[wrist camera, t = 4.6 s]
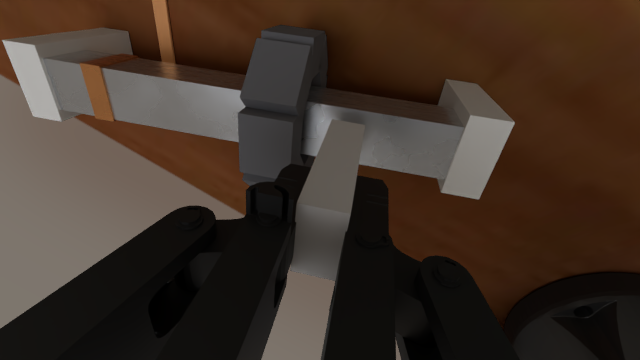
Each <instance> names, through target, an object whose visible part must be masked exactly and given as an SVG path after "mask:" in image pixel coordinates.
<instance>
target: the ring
mask: <svg viewBox="0 0 640 360" xmlns="http://www.w3.org/2000/svg"><path fill="white" fill-rule="evenodd" d="M327 69H328V56H327V37H326V35H325V31H320V30H313V29H306V28H299V27H292V26H285V25H278V26H275V27H272V28H268V29H265V30H262V39H260V38H257V39H256V43H255V46H254V50H253V53H252V56H251V60H250V63H249V67H248V70H247V74H246V77H245V80H244V84H243V87H242V91H241V94H240V99H241V100H242V102H243V104H244V105H245V108H243V109H242V110H241V111H240V112H238V135H239V162H240V172H243V173H244V176H243V179H242V180H243V181H244V182H246V183H247V184H248V185H249V186H251V185H254V184H256V183H259V182H266V181H270V182H274V181H275V180H276V178H277V176H278V175H279V173H280V171H281V170H282V169H283V168H284V167H286V166H288V165H289V164H296V165H301V166H306V167H311V166H313V161H314V157H315V156H312V155H306V154H301V153H300V150H301V138H302V125H303V116H304V111H305V107H306V103H307V99H308V95H309V90H310V86H317V87H323V88H326V85H327V76H328V75H326V73H327Z"/></svg>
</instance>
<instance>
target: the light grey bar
mask: <svg viewBox="0 0 640 360" xmlns="http://www.w3.org/2000/svg"><path fill="white" fill-rule="evenodd" d="M43 60H44V63H45V66H46V69H47V72H48V75H49V77H50V80H51V83H52V86H53V89H54V92H55V94H56V97H57V100H58V103H59V106H60V108H61V110H65V111H71V112H76V113H82V114H87V115H93V116H95V118H97V119H102V120H107V121H113V122H114V121H116V120H120V121H126V122H131V123H137V124H142V125H147V126H153V127H158V128H164V129H169V130H175V131H180V132H186V133H191V134H197V135H202V136H208V137H213V138H219V139H224V140H230V141H235V142H239V135H238V112H240V111H241V110H242V109H243V108H245V105H244V104H243V102H242V100H241V99H240V94H241V91H242V87H243V84H244V80H245V77H246V75H242V74H236V73H229V72H223V71H217V70H210V69H204V68H198V67H192V66H185V65H179V64H173V63H166V62H160V61H154V60H148V59H141V58H139V56H135V55H129V54H123V53H121V54H110V53H104V52H97V51H91V50H83V51H78V52H72V53H67V54H62V55H56V56H51V57H46V58H43ZM332 119H335V120H340V121H346V122H351V123H357V124H363V125H365V129H364V135H363V141H362V147H361V153H360V160H359V164H361V165H367V166H372V167H378V168H383V169H389V170H394V171H400V172H405V173H410V174H416V175H421V176H427V177H432V178H438V179H443V180H445V177H446V174H447V172H448V169H449V167H450V164H451V161H452V159H453V156H454V153H455V151H456V148H457V145H458V143H459V140H460V138H461V135H462V132H463V130H464V126H463V124H462V123H461V121H460V119H459V117H458V116H457V114H456V112H455V110H454V109H453V108H449V107H443V106H437V105H430V104H424V103H418V102H411V101H405V100H399V99H393V98H386V97H380V96H374V95H367V94H361V93H355V92H349V91H342V90H336V89H330V88H323V87H317V86H310V90H309V95H308V99H307V103H306V107H305V111H304V116H303V125H302V138H301V150H300V153H301V154H306V155H312V156H317V154H318V151H319V149H320V147H321V144H322V142H323V140H324V137H325V135H326V133H327V130H328V128H329V125H330V123H331V121H332Z"/></svg>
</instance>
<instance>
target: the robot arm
mask: <svg viewBox="0 0 640 360" xmlns="http://www.w3.org/2000/svg"><path fill="white" fill-rule="evenodd" d="M364 129H365V125H363V124H357V123H351V122H346V121H340V120H335V119H332V121H331V123H330V125H329V128H328V130H327V133H326V135H325V137H324V140H323V142H322V144H321V147H320V149H319V151H318V154H317V156H316V159H315V161H314V163H313V166H312V167H306V166H301V165H296V164H289V165H288V166H286V167H284V168H283V169H282V170H281V171H280V173H279V175H278V176H277V178H276V180H275V181H274V182H270V181H266V182H259V183H256V184H254V185H251V186H250V187H249V188H248V189H247V190H246V215H245V217H244V218H241V219H232V220H216V218H215V215H214V213H213V211H211V210H209V209H208V208H206V207H201V206H187V207H182V208H179V209H177V210H175V211H173V212H171V213H169V214H168V215H166V216H165V217H163V218H162V219H161V220H159V221H157V222H156V223H155V224H153V225H152V226H150V227H149V228H147V229H146V230H144V231H143V232H142V233H140V234H138V235H137V236H135V237H134V238H133V239H131V240H130V241H128V242H127V243H125V244H124V245H122V246H121V247H119V248H118V249H116V250H115V251H114V252H112V253H111V254H109V255H108V256H106V257H105V258H103V259H102V260H100V261H99V262H97V263H96V264H94V265H93V266H92V267H90V268H89V269H87V270H86V271H84V272H83V273H81V274H80V275H78V276H77V277H76V278H74V279H72V280H71V281H70V282H68V283H67V284H65V285H64V286H62V287H61V288H59V289H58V290H56V291H55V292H53V293H52V294H50V295H49V296H48V297H46V298H45V299H43V300H42V301H40V302H39V303H37V304H36V305H34V306H33V307H31V308H30V309H29V310H27V311H26V312H24V313H23V314H21V315H20V316H18V317H17V318H15V319H14V320H12V321H11V322H9V323H8V324H7V325H5V326H4V327H2V328H1V329H0V360H261V358H262V355H263V352H264V349H265V346H266V343H267V340H268V337H269V334H270V332H271V329H272V326H273V322H274V320H275V317H276V314H277V311H278V308H279V305H280V302H281V299H282V296H283V293H284V290H285V287H286V281H287V273H288V270H289V267H290V264H291V271H294V272H298V273H303V274H307V275H311V276H316V277H320V278H325V279H329V280H333V281H335V286H334V291H333V295H332V300H331V305H330V310H329V311H330V312H329V317H328V323H327V329H326V335H325V340H324V345H323V351H322V356H321V360H396V342H395V337H396V341H397V345H398V348H399V352H400V356H401V360H640V275H638V274H629V273H601V274H591V275H584V276H578V277H574V278H569V279H566V280H562V281H559V282H556V283H553V284H550V285H548V286H545V287H543V288H541V289H539V290H537V291H535V292H533V293H532V294H530V295H528V296H527V297H526V298H524V299H523V300H522V301H520V302H519V303H518V304H517V305H516V306H515V307H514V308H513V309H512V311H511V312H510V314H509V315H508V317H507V319H506V322H505V326H504V331H503V329H502V328H501V326H500V324H499V322H498V321H497V319H496V317H495V316H494V314H493V312H492V310H491V309H490V307H489V305H488V303H487V302H486V300H485V298H484V296H483V295H482V293H481V291H480V290H479V288H478V286H477V284H476V283H475V281H474V279H473V277H472V276H471V275H470V273H469V272H468V271H467V270H466V268H464V267H463V266H462V265H460V264H459V263H458V262H456V261H454V260H452V259H450V258H447V257H443V256H429V257H427V258H425V259H424V260H423V261H422V262H420V261H418V260H415V259H413V258H411V257H409V256H407V255H405V254H404V253H402V252H401V251H399V250H398V249H397V248H396V247H395V246H394V245H393V242H392V238H391V237H390V236H389V223H388V188H387V186H386V185H385V183H384V182H383V180H379V179H373V178H368V177H363V176H358V175H357V172H358V166H359V160H360V153H361V147H362V141H363V135H364Z"/></svg>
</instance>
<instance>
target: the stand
mask: <svg viewBox="0 0 640 360" xmlns="http://www.w3.org/2000/svg"><path fill="white" fill-rule="evenodd" d="M152 3H153V9H154V15H155V21H156V28H157V34H158V40H159V47H160V53H161V59H162V62H166V63H173V64H176V61H175V54H174V47H173V39H172V32H171V25H170V17H169V10H168V3H167V0H152ZM2 41H3V43H4V46H5V48H6V51H7V53H8V56H9V58H10V60H11V63H12V65H13V68H14V70H15V73H16V75H17V78H18V80H19V83H20V85H21V87H22V90H23V92H24V95H25V97H26V100H27V102H28V105H29V107H30V110H31V112H32V114H33V116H34V117H40V118H45V119H51V120H56V121H61V122H62V121H65V120H67V119H70V118H72V117H75V116H77V115H80V114H82V113H76V112H71V111H65V110H61V108H60V106H59V103H58V100H57V97H56V94H55V92H54V89H53V86H52V83H51V80H50V77H49V75H48V72H47V69H46V66H45V63H44V60H43V58H46V57H51V56H56V55H62V54H67V53H72V52H78V51H83V50H91V51H97V52H104V53H110V54H121V53H123V54H129V55H133V52H132V47H131V42H130V38H129V33H128V31H123V30H116V29H109V28H97V29H88V30H80V31H72V32H64V33H55V34H47V35H39V36H31V37H23V38H14V39H6V40H2ZM438 106H443V107H449V108H453V109H454V110H455V112H456V114H457V116H458V117H459V119H460V121H461V123H462V124H463V126H464V130H463V132H462V135H461V138H460V140H459V143H458V145H457V148H456V151H455V153H454V156H453V159H452V161H451V164H450V167H449V169H448V172H447V174H446V177H445V180H443V179H438V178H437V180H438V183H439V187H440V191H441V193H447V194H452V195H457V196H463V197H468V198H473V199H479V198H480V196H481V194H482V192H483V190H484V188H485V186H486V183H487V181H488V179H489V177H490V175H491V173H492V171H493V169H494V166H495V164H496V162H497V160H498V158H499V156H500V154H501V151H502V149H503V147H504V145H505V143H506V141H507V139H508V136H509V134H510V132H511V130H512V128H513V126H514V124H515V122H514V121H513V120H512V119H511V118H510V117H509V116H508V115H507V114H506V113H505V112H504V111H503V110H502V109H501V108H500V106H499V105H498V104H497V103H496V102H495V101H494V100H493V99H492V98H491V97H490V96H489V95H488V94H487V93H486V92H485V91H484V90H483V89H482V88H481V87H480V86H479V85H478V84H476V83H469V82H462V81H456V80H449V79H446V80H445V84H444V87H443V90H442V93H441V96H440V99H439V103H438Z"/></svg>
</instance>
